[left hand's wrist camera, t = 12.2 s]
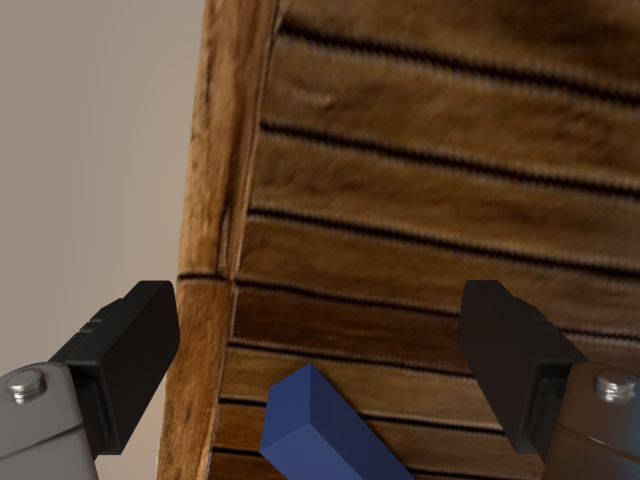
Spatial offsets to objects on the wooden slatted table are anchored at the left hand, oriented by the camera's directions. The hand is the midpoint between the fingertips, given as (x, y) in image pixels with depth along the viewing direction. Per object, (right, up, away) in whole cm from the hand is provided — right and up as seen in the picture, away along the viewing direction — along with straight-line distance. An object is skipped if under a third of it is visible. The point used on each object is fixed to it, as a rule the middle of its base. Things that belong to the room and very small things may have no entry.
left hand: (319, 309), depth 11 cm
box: (+4, -23, +39) cm, 46 cm away
